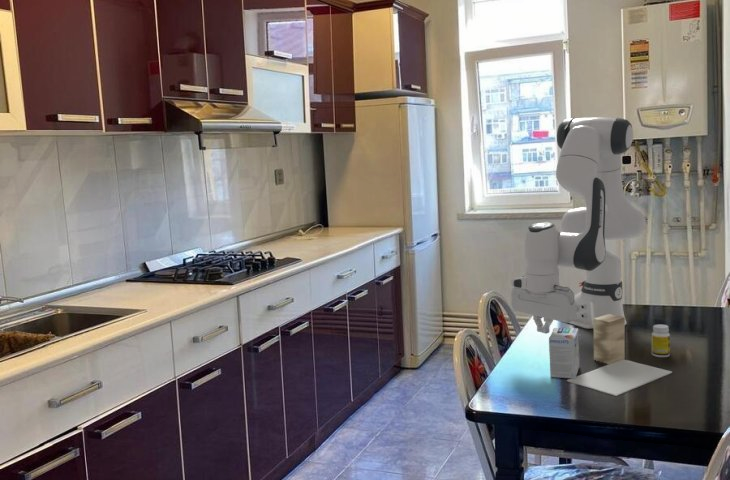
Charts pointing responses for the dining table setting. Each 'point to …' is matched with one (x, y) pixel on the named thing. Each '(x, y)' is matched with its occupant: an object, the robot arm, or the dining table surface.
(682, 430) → the dining table surface
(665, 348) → the supplement bottle
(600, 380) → the mat
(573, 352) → the light bulb box
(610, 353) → the beech block
